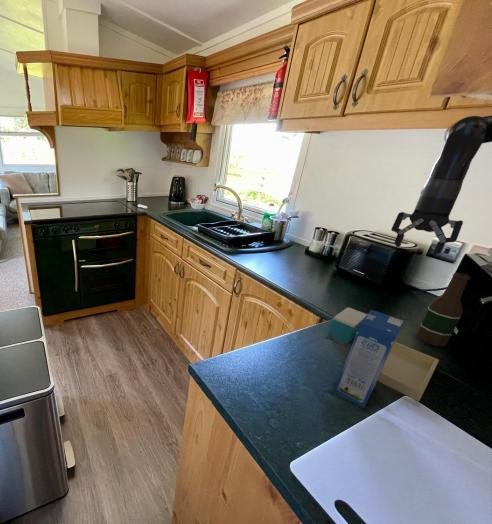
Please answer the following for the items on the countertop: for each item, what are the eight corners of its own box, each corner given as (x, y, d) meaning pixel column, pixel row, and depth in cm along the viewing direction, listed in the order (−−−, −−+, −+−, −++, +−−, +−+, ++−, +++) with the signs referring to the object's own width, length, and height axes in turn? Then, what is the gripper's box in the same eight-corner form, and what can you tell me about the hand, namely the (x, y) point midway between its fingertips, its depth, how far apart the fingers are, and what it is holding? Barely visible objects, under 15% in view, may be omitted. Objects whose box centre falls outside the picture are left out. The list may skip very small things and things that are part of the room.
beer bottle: (451, 350, 92) (488, 281, 83) (421, 343, 94) (454, 276, 85) (437, 336, 98) (469, 272, 90) (409, 331, 101) (439, 267, 92)
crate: (434, 369, 82) (439, 359, 81) (417, 404, 69) (423, 393, 68) (369, 341, 93) (373, 332, 92) (344, 366, 81) (348, 357, 79)
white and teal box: (360, 333, 97) (367, 314, 94) (347, 346, 90) (354, 325, 87) (341, 325, 101) (347, 307, 99) (327, 336, 94) (333, 316, 91)
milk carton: (345, 374, 78) (371, 309, 70) (373, 388, 73) (403, 320, 66) (333, 392, 71) (360, 322, 64) (363, 408, 67) (396, 335, 60)
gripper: (476, 199, 78) (450, 255, 84) (409, 192, 89) (389, 242, 94) (473, 200, 74) (445, 259, 80) (403, 192, 84) (383, 245, 90)
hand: (415, 250), depth 87 cm, fingers open, 8 cm apart
